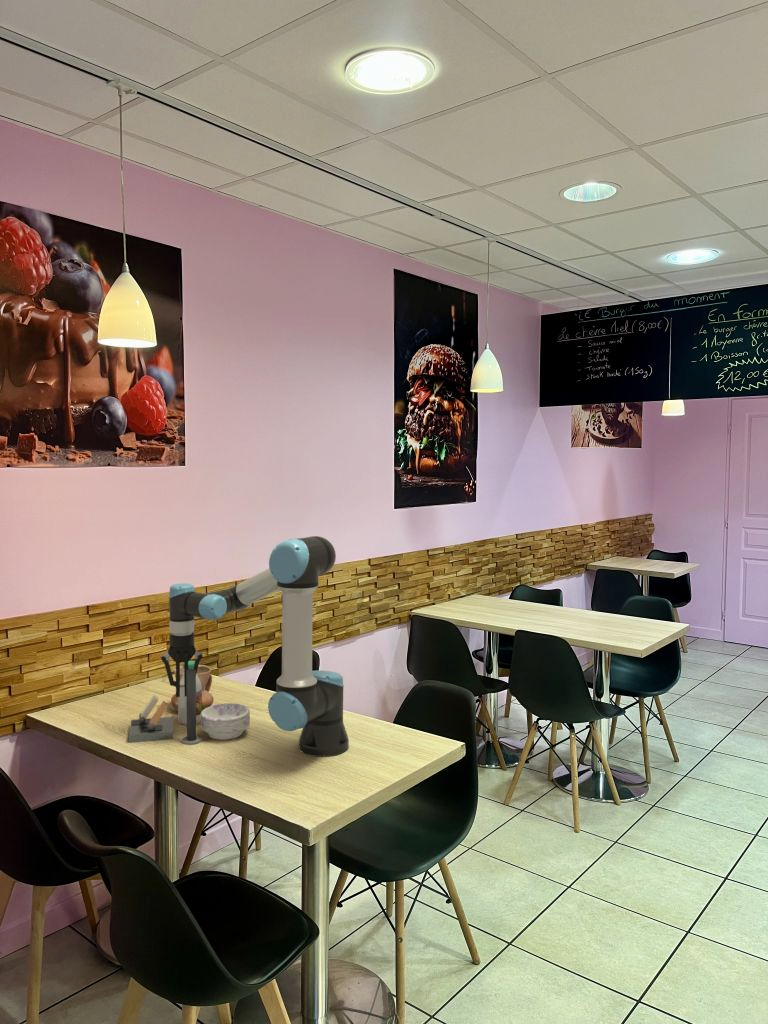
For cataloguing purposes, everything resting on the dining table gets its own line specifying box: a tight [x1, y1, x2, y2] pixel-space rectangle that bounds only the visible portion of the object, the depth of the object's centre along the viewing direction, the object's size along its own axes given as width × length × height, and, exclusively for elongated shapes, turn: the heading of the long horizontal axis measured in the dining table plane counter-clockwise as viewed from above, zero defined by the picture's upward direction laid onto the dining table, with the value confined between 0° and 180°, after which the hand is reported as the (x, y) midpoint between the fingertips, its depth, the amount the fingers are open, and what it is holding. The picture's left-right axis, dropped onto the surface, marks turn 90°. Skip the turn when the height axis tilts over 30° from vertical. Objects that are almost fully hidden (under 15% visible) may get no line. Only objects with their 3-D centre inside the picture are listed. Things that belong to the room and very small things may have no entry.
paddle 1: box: [138, 694, 159, 723], centre depth 244 cm, size 5×2×8 cm
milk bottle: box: [177, 660, 203, 726], centre depth 251 cm, size 8×8×20 cm
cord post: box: [181, 669, 203, 746], centre depth 233 cm, size 6×6×22 cm
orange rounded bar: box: [148, 700, 169, 730], centre depth 238 cm, size 5×2×8 cm
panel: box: [128, 716, 174, 743], centre depth 241 cm, size 14×13×3 cm
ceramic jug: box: [170, 664, 215, 711], centre depth 265 cm, size 18×14×14 cm
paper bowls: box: [200, 702, 251, 741], centre depth 239 cm, size 15×15×8 cm
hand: (182, 706), depth 240 cm, fingers closed
